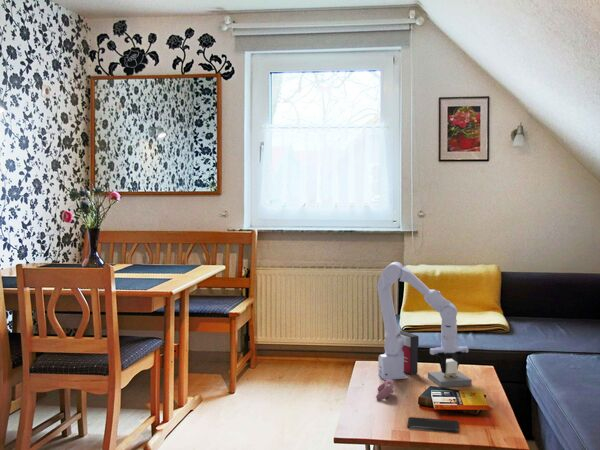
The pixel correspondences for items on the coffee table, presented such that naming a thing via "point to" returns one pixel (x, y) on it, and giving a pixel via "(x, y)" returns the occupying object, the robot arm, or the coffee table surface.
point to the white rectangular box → (451, 368)
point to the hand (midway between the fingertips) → (449, 372)
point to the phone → (433, 424)
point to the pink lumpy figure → (385, 389)
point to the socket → (449, 379)
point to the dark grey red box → (410, 352)
